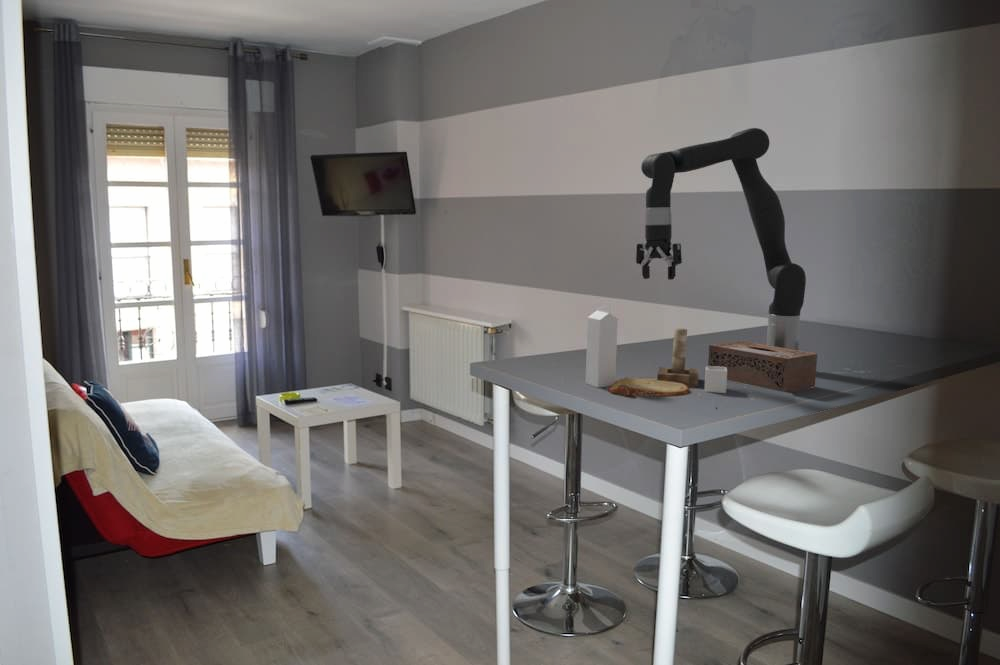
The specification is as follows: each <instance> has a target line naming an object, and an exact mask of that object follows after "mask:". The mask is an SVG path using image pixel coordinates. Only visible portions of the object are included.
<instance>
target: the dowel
mask: <svg viewBox="0 0 1000 665" xmlns="http://www.w3.org/2000/svg"><path fill="white" fill-rule="evenodd" d="M673 330H674V331H673V344H672V345H673V346H672V362H671V367H672V373H677V374H684V371H685V368H686V356H687V354H686V353H687V340H688V339H687V338H688V337H687V336H688V329H686V328H674V329H673Z"/></svg>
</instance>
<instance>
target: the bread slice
mask: <svg viewBox="0 0 1000 665" xmlns="http://www.w3.org/2000/svg"><path fill="white" fill-rule="evenodd" d="M607 391H608V393H610V394H611V395H618V396H622V397H623V396H624V397H628V398H635V399H636V398H638V396H641V397H666V396H667V397H672V396H676V397H677V396H682V395H683V396H684V395H687V394H689V393H691V390H690V388H689V386H686V385H684V384H682V383H676V382H667V381H660V380H657V379H645V378H635V377H628V376H626V377H624V378H620V379H618V380H615V382H614V383H613V384H612V385H611V386H608V389H607Z"/></svg>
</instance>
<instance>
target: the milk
mask: <svg viewBox="0 0 1000 665" xmlns="http://www.w3.org/2000/svg"><path fill="white" fill-rule="evenodd" d="M586 328H587V331H586V335H587V336H586V361H585V362H586V363H585V365H586V366H585V384H587V385H589V386H591V387H595V388H609V387H610V386H611V385H612V384H613V383H614V382H616V375H617V374H616V373H617V371H616V370H617V345H618V318H617V317H616V316H615V315H612V314H611V313H610V307H607V306H602V305H596V311H594V312H593V313H591V314H590V315H588V317H587V327H586Z"/></svg>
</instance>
